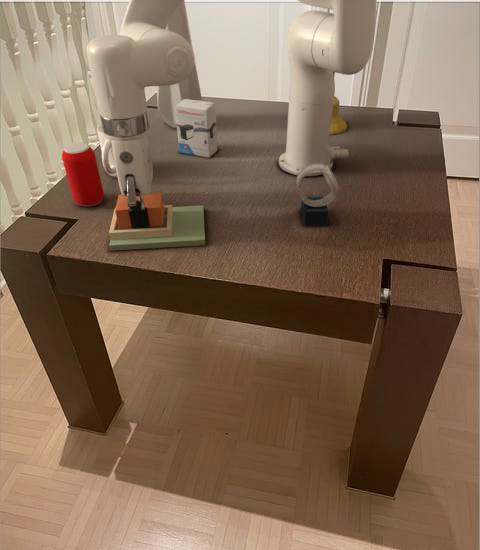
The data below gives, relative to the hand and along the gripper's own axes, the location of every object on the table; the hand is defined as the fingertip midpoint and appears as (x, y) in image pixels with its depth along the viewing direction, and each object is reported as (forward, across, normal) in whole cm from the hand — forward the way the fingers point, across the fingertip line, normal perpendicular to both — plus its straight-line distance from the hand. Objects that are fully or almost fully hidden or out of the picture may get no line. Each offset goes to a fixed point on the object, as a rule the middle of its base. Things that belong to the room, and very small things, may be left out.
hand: (142, 217), depth 85 cm
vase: (+3, +53, -7) cm, 53 cm away
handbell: (+3, +47, -46) cm, 66 cm away
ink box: (+3, +34, -11) cm, 36 cm away
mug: (+3, +24, +7) cm, 25 cm away
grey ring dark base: (+3, +1, -33) cm, 33 cm away
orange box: (0, 0, 0) cm, 0 cm away
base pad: (+3, 0, -3) cm, 4 cm away
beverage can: (+3, +12, +12) cm, 17 cm away
